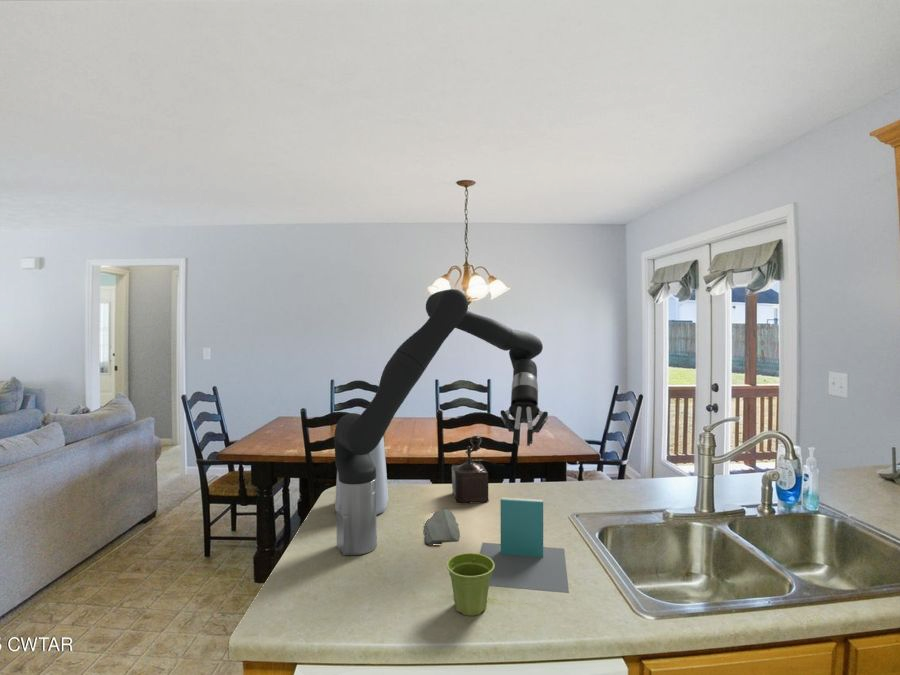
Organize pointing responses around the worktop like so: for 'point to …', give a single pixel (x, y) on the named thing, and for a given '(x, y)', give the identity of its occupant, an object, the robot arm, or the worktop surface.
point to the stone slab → (441, 528)
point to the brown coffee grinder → (470, 478)
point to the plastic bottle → (381, 478)
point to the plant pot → (470, 581)
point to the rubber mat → (528, 569)
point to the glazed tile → (522, 527)
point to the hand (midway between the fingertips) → (523, 443)
